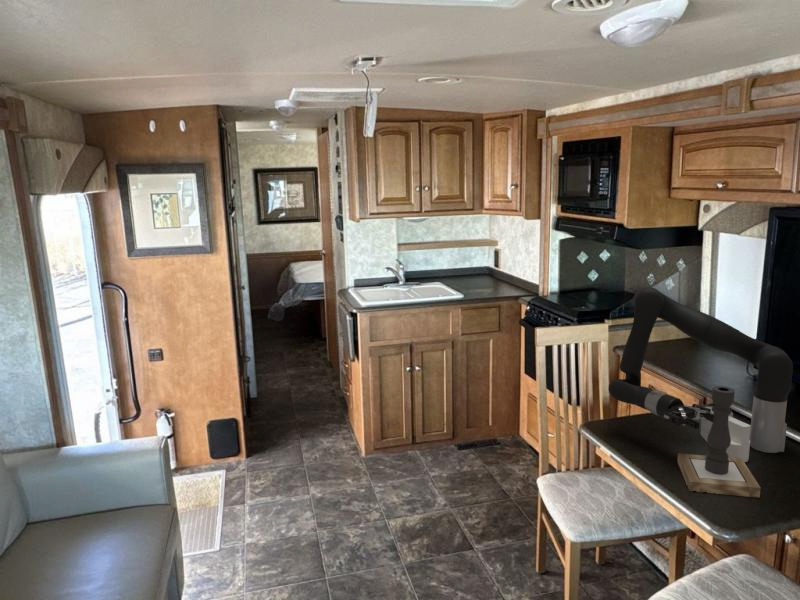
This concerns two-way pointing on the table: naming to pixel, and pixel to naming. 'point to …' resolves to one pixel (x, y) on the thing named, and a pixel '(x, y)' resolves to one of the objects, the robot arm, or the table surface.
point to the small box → (707, 426)
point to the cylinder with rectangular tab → (739, 439)
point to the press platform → (703, 473)
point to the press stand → (718, 486)
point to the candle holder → (719, 431)
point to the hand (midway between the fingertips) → (708, 423)
